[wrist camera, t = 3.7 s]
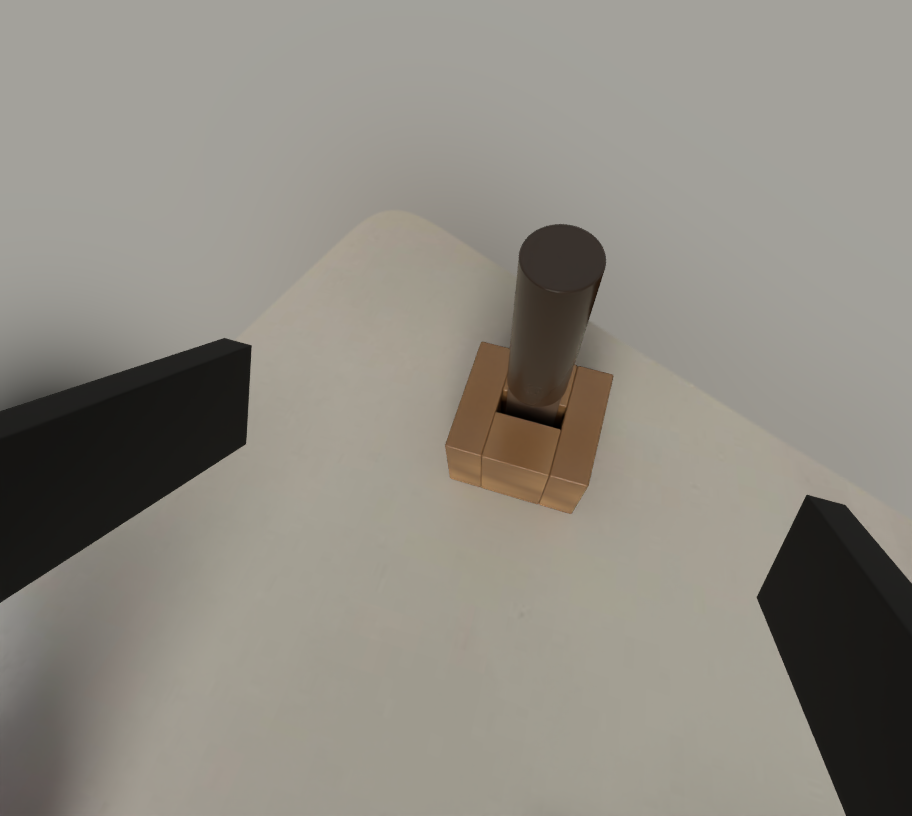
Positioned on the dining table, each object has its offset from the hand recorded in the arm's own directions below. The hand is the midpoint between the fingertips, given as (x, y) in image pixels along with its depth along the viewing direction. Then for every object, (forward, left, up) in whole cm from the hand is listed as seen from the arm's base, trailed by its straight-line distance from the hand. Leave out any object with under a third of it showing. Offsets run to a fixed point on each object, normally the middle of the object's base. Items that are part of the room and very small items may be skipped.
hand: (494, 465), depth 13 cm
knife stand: (0, -7, -17) cm, 18 cm away
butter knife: (0, -7, -17) cm, 18 cm away
